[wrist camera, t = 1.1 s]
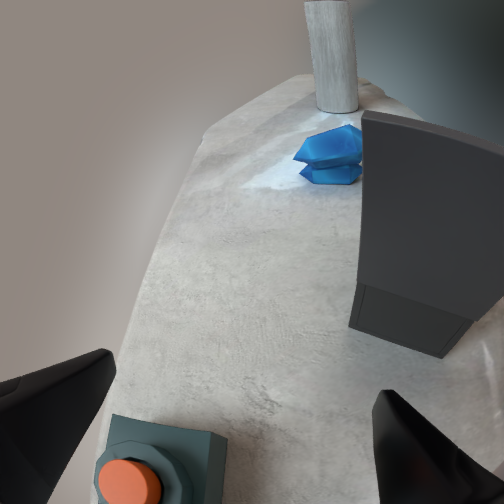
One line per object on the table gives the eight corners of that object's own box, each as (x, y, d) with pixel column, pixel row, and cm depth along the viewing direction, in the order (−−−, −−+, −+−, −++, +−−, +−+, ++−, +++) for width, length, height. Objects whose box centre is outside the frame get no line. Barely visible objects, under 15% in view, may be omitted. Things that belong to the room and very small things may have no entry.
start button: (159, 517, 10) (145, 519, 9) (111, 500, 11) (95, 500, 10) (165, 469, 13) (151, 467, 12) (117, 455, 13) (101, 452, 12)
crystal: (284, 128, 38) (365, 109, 33) (303, 176, 43) (377, 161, 39) (280, 151, 33) (377, 129, 28) (302, 205, 38) (387, 189, 34)
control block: (217, 546, 12) (188, 566, 8) (126, 521, 13) (80, 524, 9) (227, 438, 19) (202, 427, 14) (139, 425, 20) (98, 407, 16)
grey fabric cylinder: (366, 111, 56) (358, 1, 37) (327, 116, 56) (313, -1, 37) (346, 99, 63) (337, 2, 44) (311, 104, 63) (297, 2, 44)
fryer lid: (364, 108, 9) (360, 117, 9) (574, 180, 5) (578, 193, 4) (359, 273, 19) (356, 281, 18) (478, 312, 14) (477, 322, 14)
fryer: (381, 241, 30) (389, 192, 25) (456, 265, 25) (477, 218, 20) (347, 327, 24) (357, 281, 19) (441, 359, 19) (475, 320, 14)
